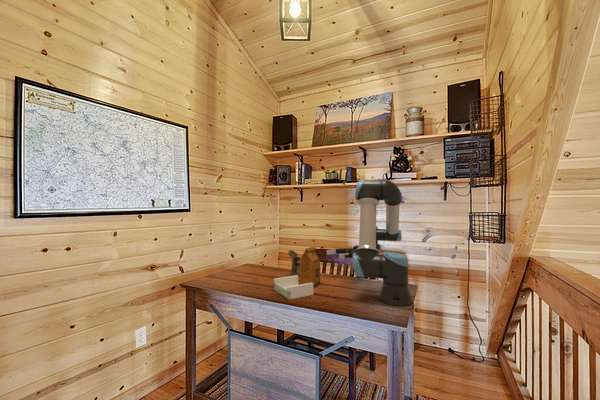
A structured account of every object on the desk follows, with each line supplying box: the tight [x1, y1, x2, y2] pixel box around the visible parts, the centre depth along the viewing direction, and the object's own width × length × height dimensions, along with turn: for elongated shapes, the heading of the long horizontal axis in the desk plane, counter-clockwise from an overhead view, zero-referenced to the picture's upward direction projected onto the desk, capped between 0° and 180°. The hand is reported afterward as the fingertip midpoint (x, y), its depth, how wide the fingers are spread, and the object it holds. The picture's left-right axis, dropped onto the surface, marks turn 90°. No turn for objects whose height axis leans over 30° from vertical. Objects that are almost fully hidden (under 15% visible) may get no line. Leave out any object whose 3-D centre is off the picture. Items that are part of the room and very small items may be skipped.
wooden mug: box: [287, 249, 301, 278], centre depth 184 cm, size 9×14×18 cm, turn 155°
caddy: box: [273, 275, 314, 301], centre depth 151 cm, size 18×15×6 cm
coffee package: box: [299, 245, 321, 286], centre depth 165 cm, size 10×12×22 cm
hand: (333, 254), depth 170 cm, fingers open, 13 cm apart
